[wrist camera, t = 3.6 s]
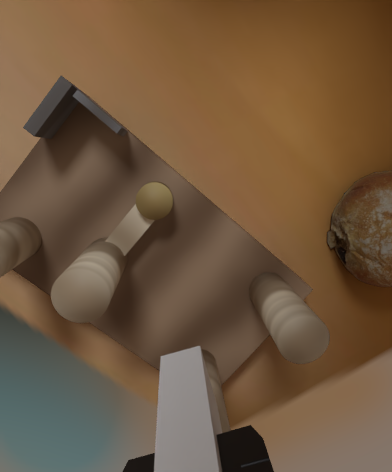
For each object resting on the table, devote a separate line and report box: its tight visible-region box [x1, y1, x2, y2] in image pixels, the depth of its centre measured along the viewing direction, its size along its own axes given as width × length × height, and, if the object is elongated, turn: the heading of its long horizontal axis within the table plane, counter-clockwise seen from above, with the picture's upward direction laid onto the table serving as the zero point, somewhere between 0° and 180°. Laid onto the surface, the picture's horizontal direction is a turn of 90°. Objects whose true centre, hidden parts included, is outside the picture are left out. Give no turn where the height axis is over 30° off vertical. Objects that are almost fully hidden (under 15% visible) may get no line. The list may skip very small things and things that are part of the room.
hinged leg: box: [51, 181, 173, 323], centre depth 21 cm, size 9×3×8 cm, turn 140°
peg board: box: [0, 76, 330, 433], centre depth 24 cm, size 24×14×11 cm, turn 49°
